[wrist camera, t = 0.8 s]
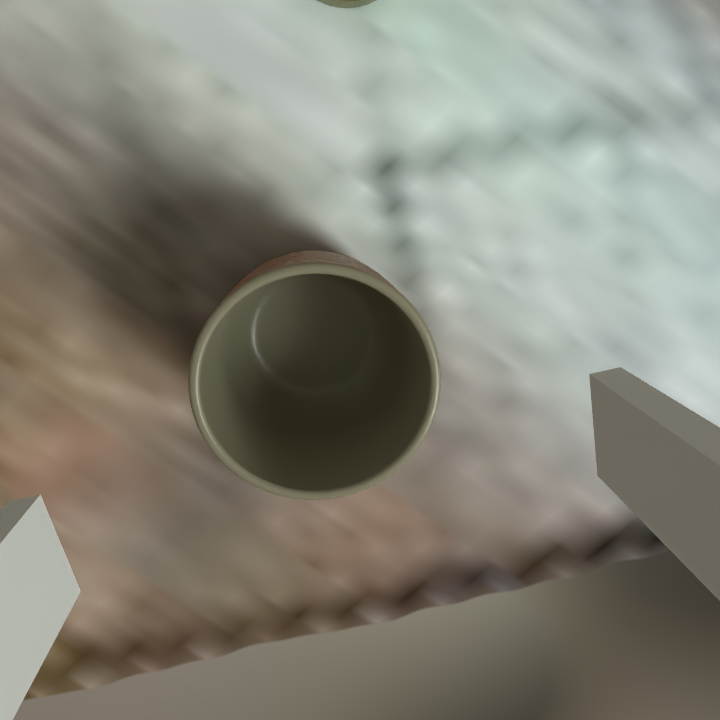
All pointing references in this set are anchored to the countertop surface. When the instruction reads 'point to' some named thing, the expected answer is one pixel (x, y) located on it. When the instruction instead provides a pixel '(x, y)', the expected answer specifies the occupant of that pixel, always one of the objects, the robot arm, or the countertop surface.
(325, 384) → the planter
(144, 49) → the countertop surface
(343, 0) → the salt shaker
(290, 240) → the countertop surface
